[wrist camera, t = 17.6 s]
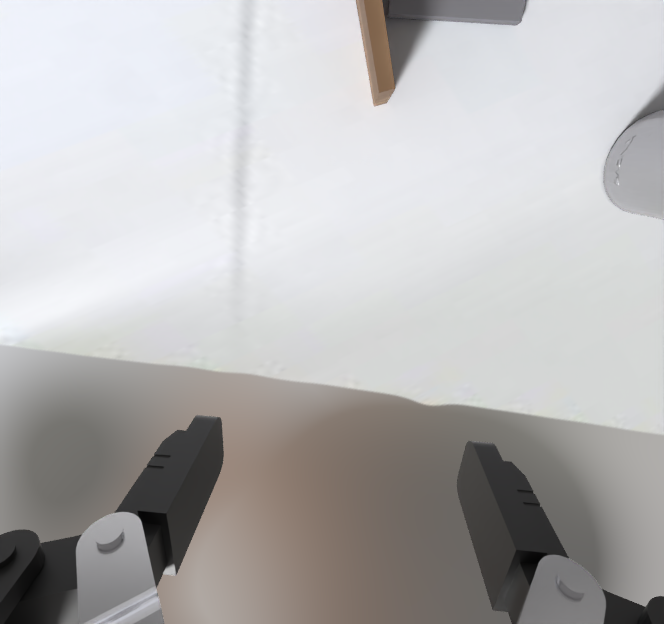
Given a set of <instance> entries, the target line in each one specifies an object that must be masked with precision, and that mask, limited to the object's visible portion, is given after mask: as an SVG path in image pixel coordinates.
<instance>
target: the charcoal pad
mask: <svg viewBox="0 0 664 624" xmlns="http://www.w3.org/2000/svg"><path fill="white" fill-rule="evenodd" d="M525 2H526V0H389V10H388V18H403V19H419V20H436V21H453V22H469V23H486V24H503V25H518V24H519V23H520V22H521V21H522V16H523V11H524V7H525Z"/></svg>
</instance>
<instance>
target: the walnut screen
mask: <svg viewBox="0 0 664 624" xmlns="http://www.w3.org/2000/svg"><path fill="white" fill-rule="evenodd" d="M356 4H357V9H358V15H359V21H360V27H361V33H362V39H363V45H364V51H365V57H366V62H367V68H368V74H369V80H370V86H371V92H372V98H373V104H374V106H378V105H381V104H385V103H387V102H388V100H389V98H390V97H391V95H392V93H393V92H394V90H395V83H394V77H393V70H392V63H391V56H390V50H389V43H388V36H387V30H386V23H385V16H384V9H383V3H382V0H356Z"/></svg>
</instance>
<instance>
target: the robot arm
mask: <svg viewBox="0 0 664 624" xmlns="http://www.w3.org/2000/svg"><path fill="white" fill-rule="evenodd" d="M604 185H605V190H606V193H607V195H608V197H609V198H610V200H611V201H612V202H613V203H614V204H615V205H616V206H617V207H619V208H620V209H622V210H624V211H627V212H630V213H634V214H639V215H643V216H648V217H653V218H658V219H662V220H664V110H660V111H657V112H654V113H651V114H649V115H647V116H645V117H643V118H641V119H640V120H638V121H636V122H635V123H634V124H633V125H631V126H630V127H629V128H628V129H626V131H625V132H624V133H623V134H622V135H621V136H620V137H619V138H618V140H617V141H616V143H615V144H614V146H613V147H612V149H611V151H610V153H609V156H608V158H607V160H606V164H605V169H604ZM223 456H224V451H223V437H222V422H221V418H220V417H211V416H199V415H197V416H196V417H195V418H194V419H193V421H192V423H191V424H190V426H189V428H188V429H187V430H186V431H182V430H177V431H175V432H174V433H173V434H172V435H170V436H169V437H168V438H166V439H165V440H164V441H163V442H162V444H161V445H160V447H159V448H158V449H157V451H156V452H155V454H154V457H152V458H151V460H150V461H149V463H148V464H147V467H146V468H145V469H144V470H143V472H142V473H141V475H140V476H139V478H138V479H137V481H136V482H135V484H134V485H133V486H132V488H131V489H130V491H129V492H128V494H127V496H126V497H125V498H124V500H123V501H122V503H121V504H120V506H119V507H118V509H117V510H116V512H115V513H113V514H110V515H107V516H105V517H103V518H101V519H99V520H98V521H96V522H95V523H93V524H92V525H91V526H90V527H89V528H87V530H86V531H85V532H84V533H83V534H82V535H79V536H75V537H70V538H65V539H60V540H55V541H50V542H44V543H40V540H39V538H38V536H37V534H36V533H34V532H33V531H30V530H15V531H11V532H7V533H4V534H2V535H0V624H164V619H163V615H162V610H161V606H160V602H159V597H158V594H157V591H156V588H157V585H158V583H159V581H160V579H161V577H162V575H163V574H166V575H177V572H178V570H179V568H180V565H181V563H182V561H183V558H184V556H185V554H186V551H187V549H188V547H189V544H190V542H191V540H192V537H193V535H194V533H195V530H196V528H197V526H198V523H199V521H200V519H201V516H202V514H203V512H204V509H205V506H206V504H207V502H208V500H209V498H210V495H211V493H212V491H213V488H214V486H215V483H216V481H217V479H218V476H219V474H220V471H221V468H222V464H223ZM457 490H458V496H459V500H460V503H461V506H462V510H463V513H464V517H465V520H466V523H467V526H468V530H469V533H470V536H471V540H472V543H473V546H474V549H475V553H476V556H477V559H478V563H479V566H480V569H481V573H482V576H483V579H484V583H485V586H486V589H487V592H488V596H489V599H490V602H491V606H492V609H493V610H495V611H505V612H508V613H509V616H510V619H511V622H512V624H664V597H662V596H659V597H654V598H652V599H651V600H650V601H649V603H648V604H647V606H646V607H644V606H642V605H639V604H637V603H634V602H632V601H629V600H627V599H624V598H622V597H619V596H617V595H614V594H612V593H610V592H607V591H605V590H603V589H601V587H600V585H599V584H598V582H597V581H596V580H595V578H594V577H593V576H592V575H591V574H590V573H589V572H588V571H587V570H586V569H585V568H583V567H582V566H581V565H579V564H578V563H576V562H574V561H573V560H571V559H569V557H568V556H567V554H566V552H565V550H564V548H563V546H562V545H561V543H560V541H559V539H558V537H557V535H556V533H555V531H554V529H553V528H552V526H551V524H550V522H549V520H548V518H547V516H546V514H545V512H544V510H543V509H542V507H540V503H539V501H538V499H537V497H536V496H535V494H533V490H532V488H531V486H530V484H529V482H528V480H527V478H526V477H525V475H524V474H523V473H522V472H521V471H520V470H519V469H518V468H517V467H516V466H515V465H514V464H513V463H512V462H507V461H503V460H502V458H501V456H500V454H499V452H498V450H497V448H496V446H495V445H494V444H493V443H485V442H474V441H469V442H467V444H466V447H465V451H464V455H463V458H462V462H461V466H460V470H459V474H458V479H457Z"/></svg>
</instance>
